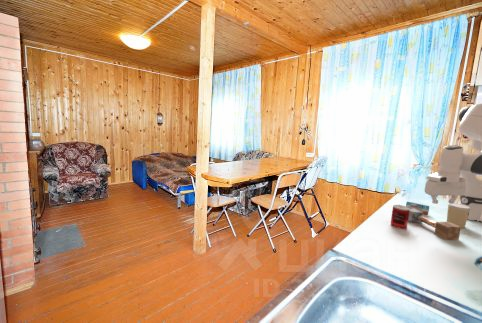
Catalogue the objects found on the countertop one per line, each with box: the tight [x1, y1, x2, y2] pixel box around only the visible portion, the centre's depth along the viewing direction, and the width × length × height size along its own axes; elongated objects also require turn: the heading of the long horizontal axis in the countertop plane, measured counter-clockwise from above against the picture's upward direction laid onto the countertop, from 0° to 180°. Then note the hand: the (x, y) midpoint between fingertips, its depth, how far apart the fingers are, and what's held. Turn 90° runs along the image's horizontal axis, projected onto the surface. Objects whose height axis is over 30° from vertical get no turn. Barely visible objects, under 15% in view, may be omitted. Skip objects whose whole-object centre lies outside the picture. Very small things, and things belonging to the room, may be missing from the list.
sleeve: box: [408, 209, 424, 224], centre depth 136 cm, size 7×6×6 cm
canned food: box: [390, 204, 410, 230], centre depth 127 cm, size 8×8×11 cm
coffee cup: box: [446, 202, 470, 229], centre depth 131 cm, size 9×9×12 cm
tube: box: [418, 215, 437, 228], centre depth 123 cm, size 4×16×4 cm, turn 6°
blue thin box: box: [405, 200, 430, 216], centre depth 151 cm, size 12×2×6 cm, turn 45°
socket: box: [434, 221, 462, 241], centre depth 116 cm, size 7×6×7 cm
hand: (443, 203), depth 119 cm, fingers open, 8 cm apart
